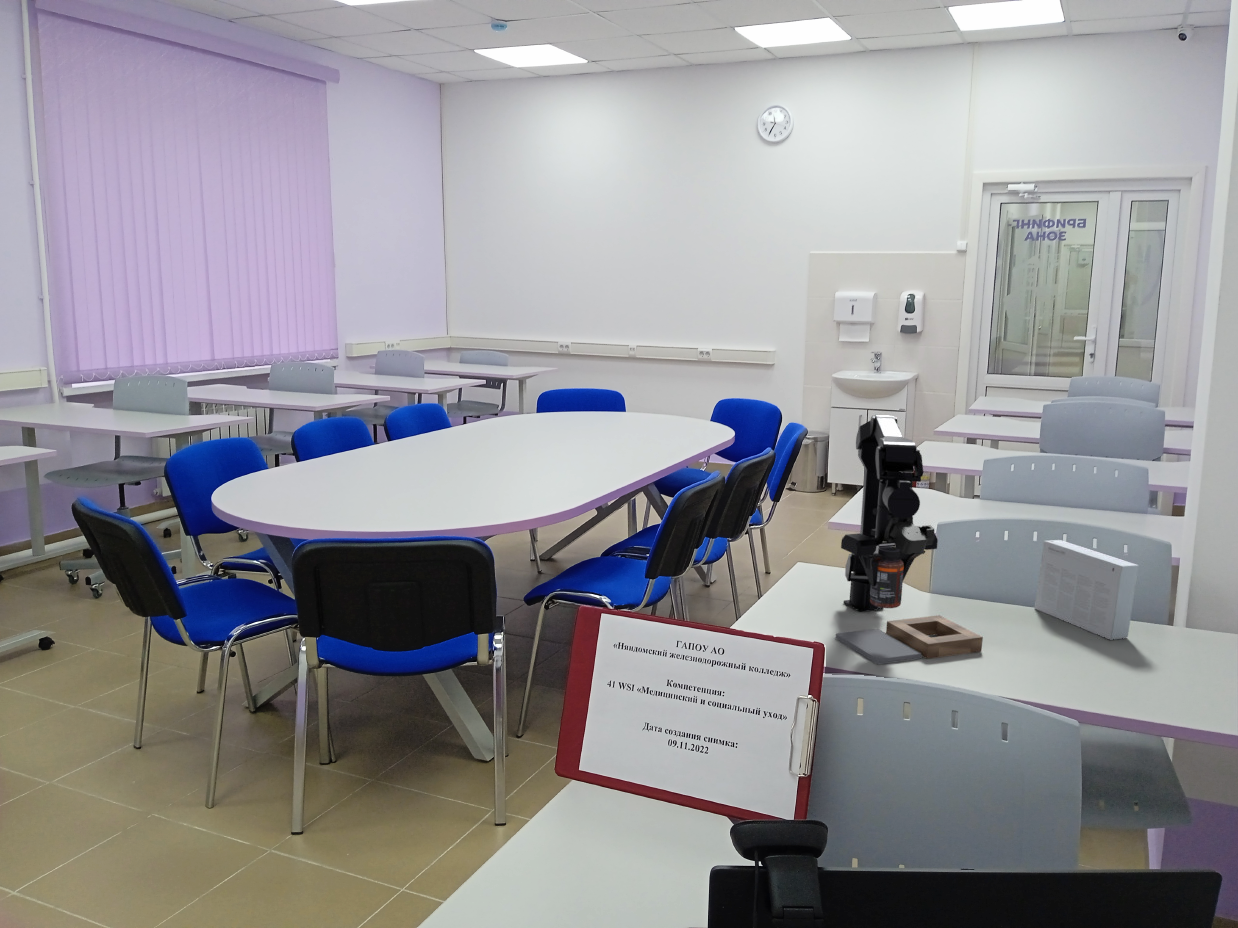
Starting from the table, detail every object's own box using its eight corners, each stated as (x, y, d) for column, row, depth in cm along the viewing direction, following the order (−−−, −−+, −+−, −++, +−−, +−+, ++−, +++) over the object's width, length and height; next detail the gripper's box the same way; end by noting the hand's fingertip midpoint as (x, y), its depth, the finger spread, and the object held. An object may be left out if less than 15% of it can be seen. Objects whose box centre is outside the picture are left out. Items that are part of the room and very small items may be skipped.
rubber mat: (835, 638, 197) (835, 633, 197) (877, 633, 200) (877, 628, 200) (877, 664, 184) (877, 659, 184) (920, 658, 188) (921, 653, 187)
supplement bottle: (895, 599, 194) (899, 544, 192) (905, 609, 188) (910, 552, 186) (865, 599, 193) (869, 543, 191) (874, 609, 188) (879, 552, 185)
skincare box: (1130, 638, 202) (1140, 564, 199) (1110, 641, 200) (1120, 566, 197) (1051, 606, 221) (1059, 538, 218) (1033, 608, 219) (1041, 539, 216)
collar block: (885, 635, 199) (887, 621, 199) (937, 628, 204) (939, 615, 204) (926, 658, 188) (928, 643, 187) (981, 651, 192) (982, 636, 192)
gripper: (878, 519, 176) (871, 602, 179) (961, 513, 183) (953, 592, 186) (842, 505, 186) (836, 583, 189) (922, 500, 193) (915, 575, 196)
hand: (886, 584), depth 190 cm, fingers closed on supplement bottle, 6 cm apart
